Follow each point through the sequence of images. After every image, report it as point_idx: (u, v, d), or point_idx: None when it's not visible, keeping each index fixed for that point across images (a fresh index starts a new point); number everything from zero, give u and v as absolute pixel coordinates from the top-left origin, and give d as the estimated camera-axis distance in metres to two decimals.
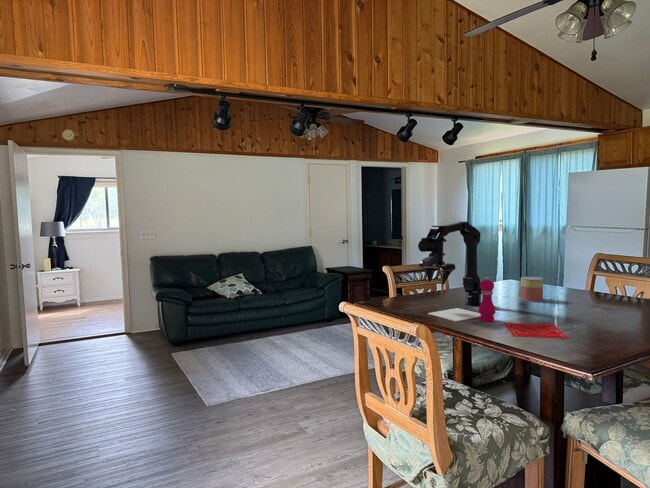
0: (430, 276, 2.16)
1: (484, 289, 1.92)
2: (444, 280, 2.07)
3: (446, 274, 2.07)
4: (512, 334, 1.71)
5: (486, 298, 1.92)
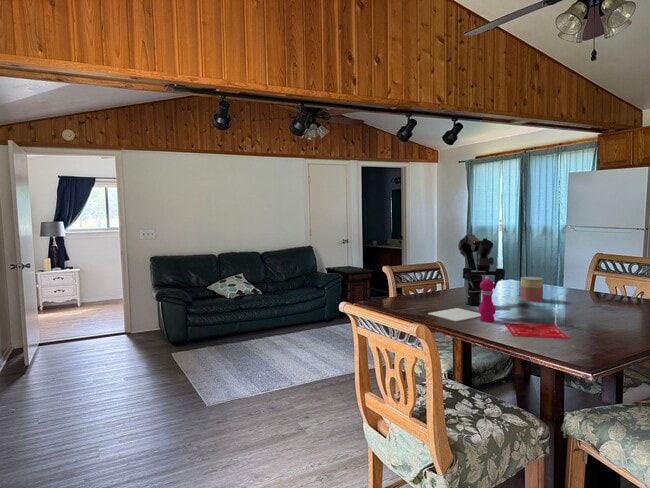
0: (473, 283, 2.05)
1: (484, 289, 1.92)
2: (495, 285, 2.01)
3: (496, 280, 2.03)
4: (512, 334, 1.71)
5: (486, 298, 1.92)
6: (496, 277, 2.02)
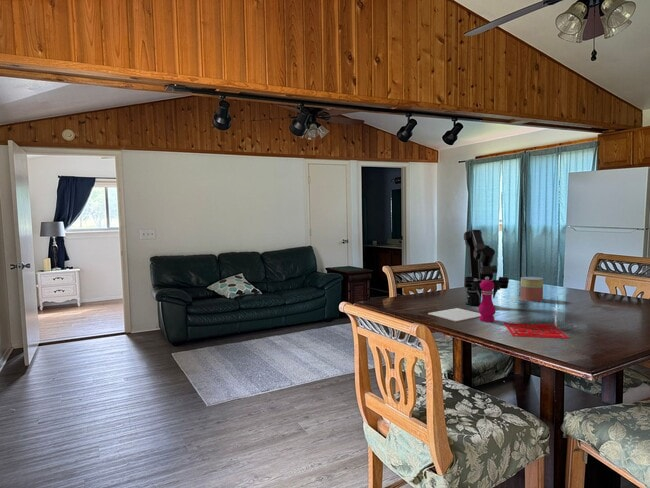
0: (480, 293, 1.95)
1: (484, 289, 1.92)
2: (495, 294, 1.93)
3: (495, 289, 1.95)
4: (512, 334, 1.71)
5: (486, 298, 1.92)
6: (495, 286, 1.94)
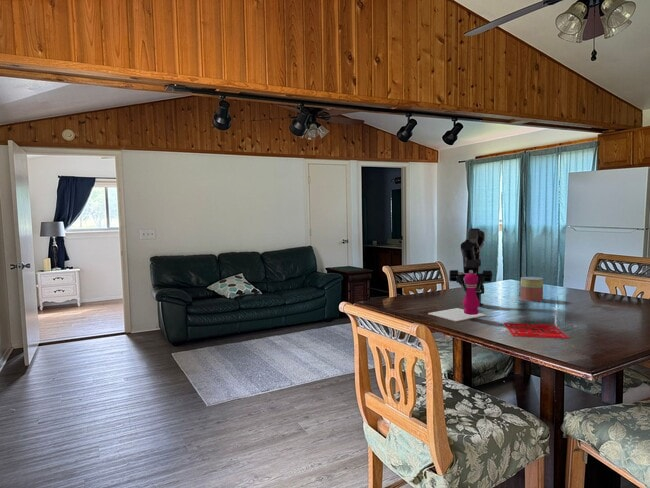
0: (464, 286, 1.98)
1: (468, 282, 1.94)
2: (479, 287, 1.95)
3: (479, 283, 1.98)
4: (512, 334, 1.71)
5: (470, 291, 1.95)
6: (479, 279, 1.96)
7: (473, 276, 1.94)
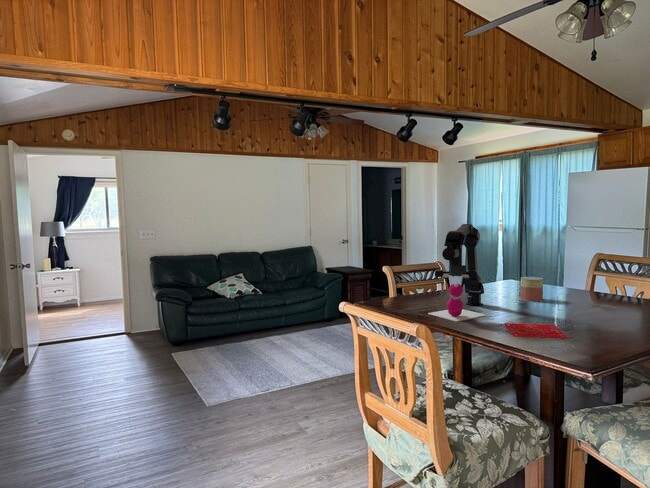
0: None
1: (452, 295, 1.92)
2: None
3: None
4: (512, 334, 1.71)
5: (454, 300, 1.95)
6: (463, 281, 1.97)
7: (457, 291, 1.90)
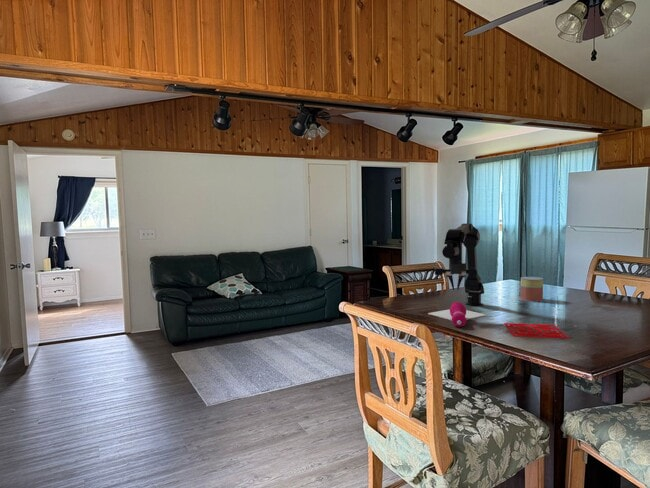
0: (453, 284, 2.00)
1: None
2: None
3: None
4: (512, 334, 1.71)
5: None
6: (460, 279, 1.97)
7: (459, 326, 1.84)
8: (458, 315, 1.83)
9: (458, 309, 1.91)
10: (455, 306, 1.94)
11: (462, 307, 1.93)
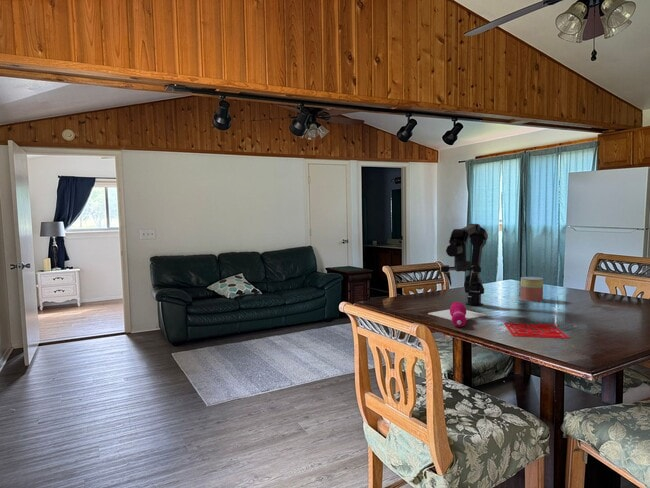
0: (450, 280, 2.14)
1: None
2: (471, 282, 2.11)
3: None
4: (512, 334, 1.71)
5: None
6: (472, 276, 2.09)
7: (459, 326, 1.84)
8: (458, 315, 1.83)
9: (458, 309, 1.91)
10: (455, 306, 1.94)
11: (462, 307, 1.93)
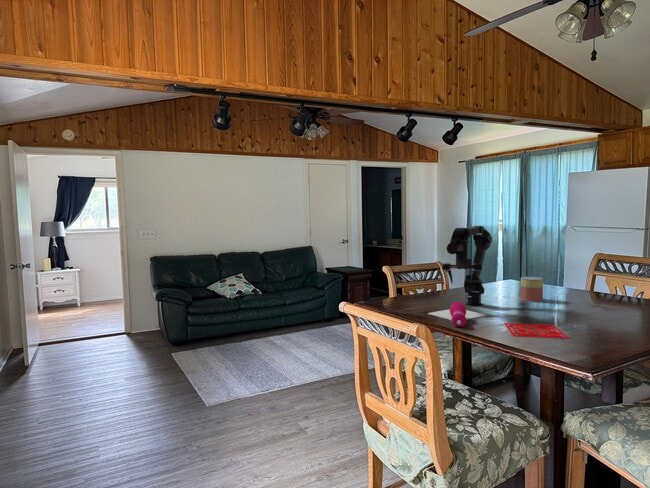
0: None
1: None
2: (472, 280, 2.15)
3: None
4: (512, 334, 1.71)
5: None
6: (473, 274, 2.13)
7: (459, 326, 1.84)
8: (458, 315, 1.83)
9: (458, 309, 1.91)
10: (455, 306, 1.94)
11: (462, 307, 1.93)
